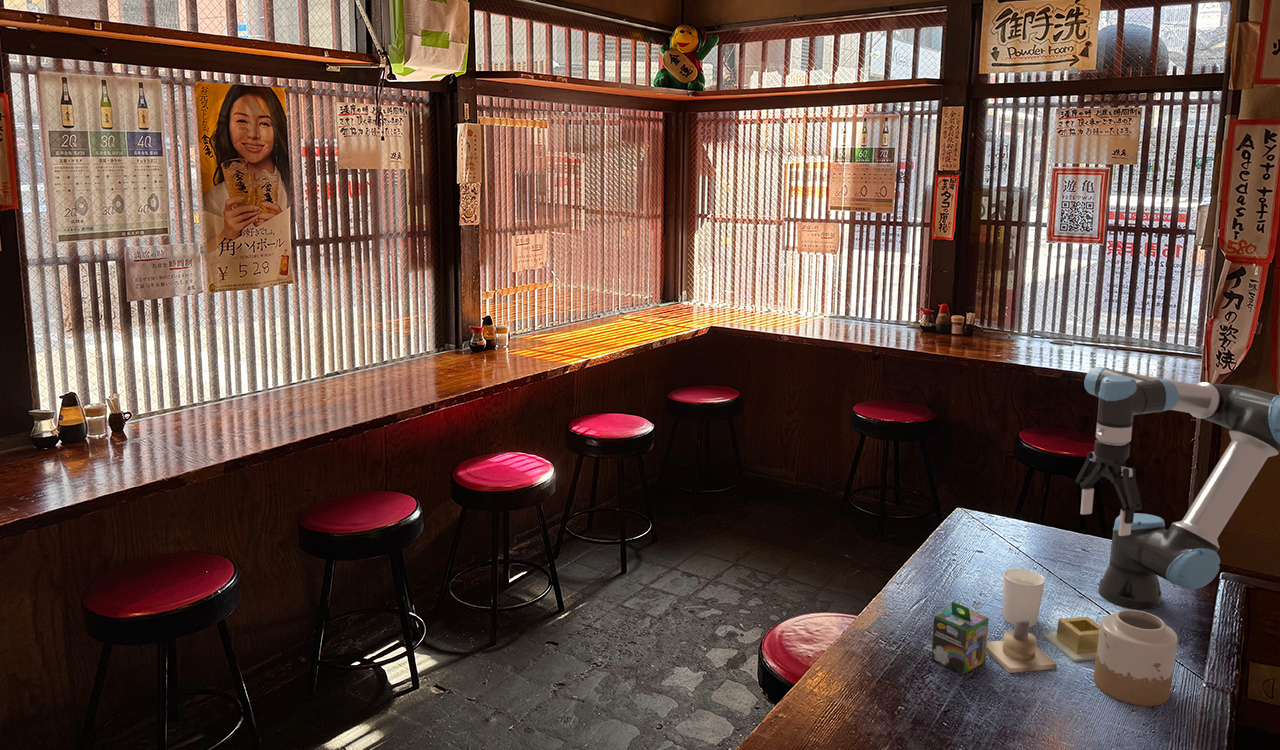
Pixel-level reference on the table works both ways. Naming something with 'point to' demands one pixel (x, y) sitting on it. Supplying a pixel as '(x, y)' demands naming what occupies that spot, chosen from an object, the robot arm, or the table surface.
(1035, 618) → the candle holder
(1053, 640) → the felt mat
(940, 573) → the table surface
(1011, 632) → the stand
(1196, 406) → the robot arm
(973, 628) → the chalk box
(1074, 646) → the square wooden frame
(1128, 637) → the vase
